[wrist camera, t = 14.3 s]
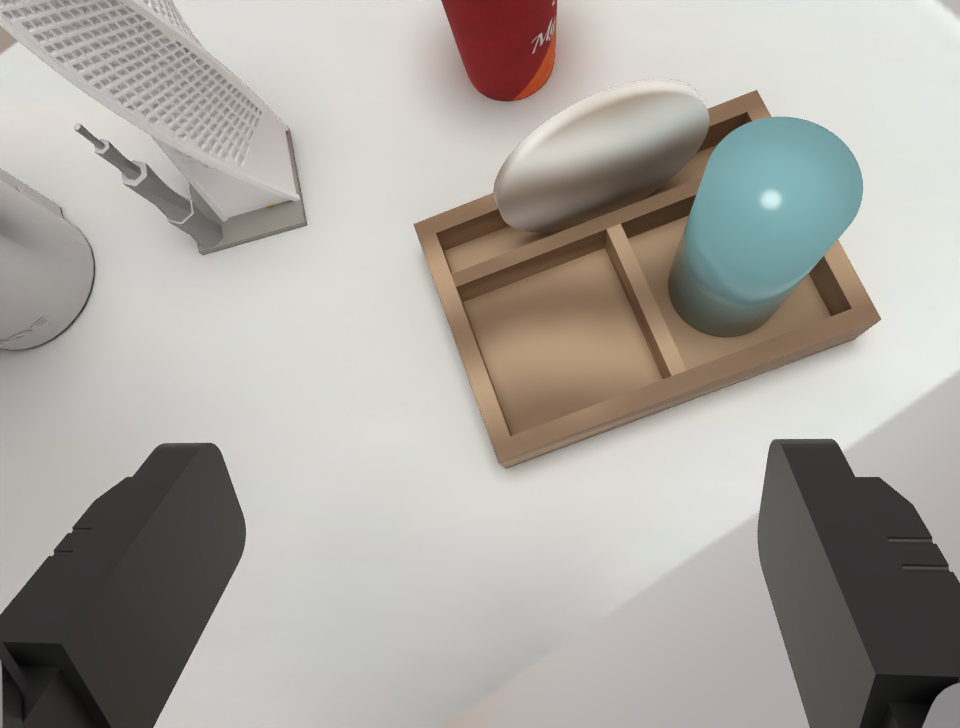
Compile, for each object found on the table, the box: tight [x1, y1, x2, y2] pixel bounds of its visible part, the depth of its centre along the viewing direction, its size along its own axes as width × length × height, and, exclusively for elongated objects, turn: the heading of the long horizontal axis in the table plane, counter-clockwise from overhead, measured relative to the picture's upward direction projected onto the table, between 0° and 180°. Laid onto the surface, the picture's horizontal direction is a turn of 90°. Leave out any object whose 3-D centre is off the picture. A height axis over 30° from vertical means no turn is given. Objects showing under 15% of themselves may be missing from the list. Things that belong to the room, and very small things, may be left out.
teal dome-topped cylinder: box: [668, 117, 863, 337], centre depth 34 cm, size 6×6×11 cm
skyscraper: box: [0, 0, 307, 255], centre depth 32 cm, size 8×8×28 cm
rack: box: [414, 79, 881, 468], centre depth 35 cm, size 14×20×12 cm
